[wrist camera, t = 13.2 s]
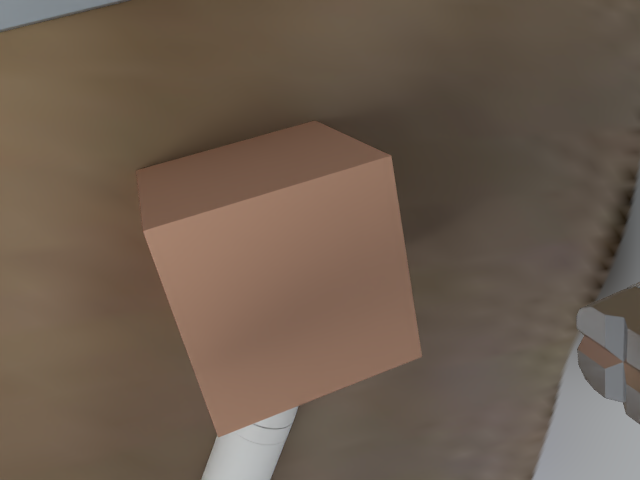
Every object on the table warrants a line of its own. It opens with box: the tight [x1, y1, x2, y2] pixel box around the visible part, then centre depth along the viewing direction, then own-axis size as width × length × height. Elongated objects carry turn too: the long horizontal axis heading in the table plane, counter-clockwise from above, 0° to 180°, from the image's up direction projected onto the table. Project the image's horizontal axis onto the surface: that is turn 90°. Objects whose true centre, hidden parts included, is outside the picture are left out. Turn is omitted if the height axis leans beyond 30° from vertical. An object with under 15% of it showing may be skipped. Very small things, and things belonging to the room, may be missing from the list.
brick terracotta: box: [136, 121, 422, 438], centre depth 14 cm, size 5×5×5 cm
